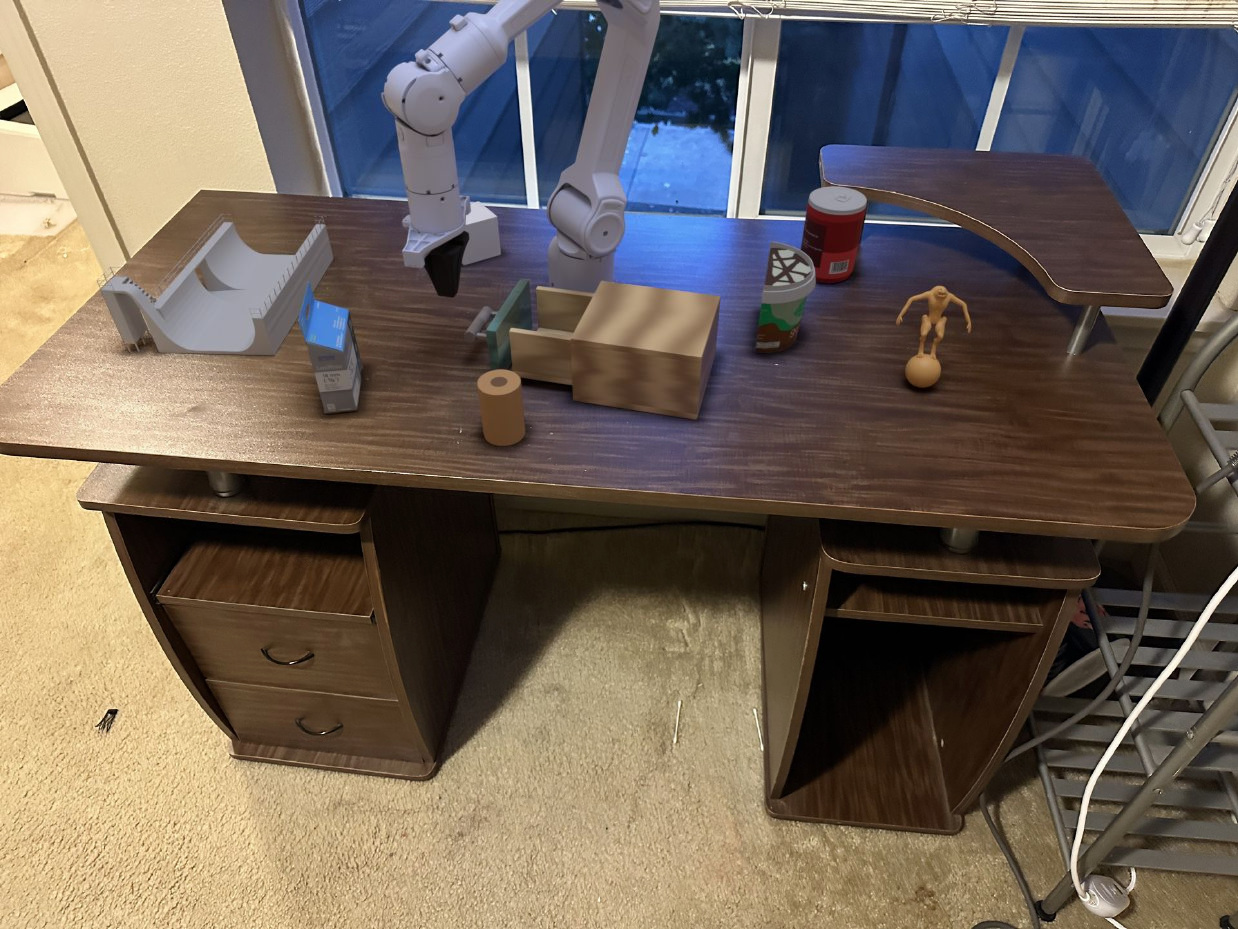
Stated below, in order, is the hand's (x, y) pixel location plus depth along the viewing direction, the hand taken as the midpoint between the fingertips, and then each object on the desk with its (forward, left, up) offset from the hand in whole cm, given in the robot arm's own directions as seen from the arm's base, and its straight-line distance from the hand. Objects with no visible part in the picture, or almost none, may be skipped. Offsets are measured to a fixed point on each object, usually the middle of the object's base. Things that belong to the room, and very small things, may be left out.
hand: (447, 294), depth 102 cm
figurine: (+34, +45, -8) cm, 57 cm away
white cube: (-23, +12, -8) cm, 27 cm away
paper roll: (+18, -2, -8) cm, 20 cm away
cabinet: (+17, +17, -8) cm, 26 cm away
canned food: (+8, +53, -8) cm, 55 cm away
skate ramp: (-26, -21, -8) cm, 34 cm away
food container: (+18, +37, -8) cm, 42 cm away
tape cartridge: (+1, -15, -8) cm, 17 cm away
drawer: (+8, +8, -7) cm, 14 cm away
